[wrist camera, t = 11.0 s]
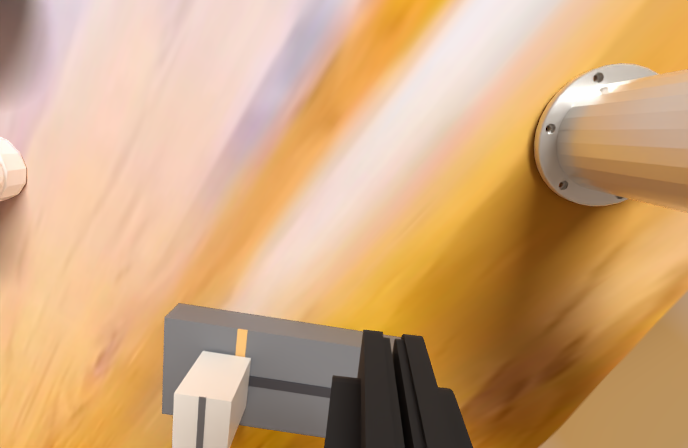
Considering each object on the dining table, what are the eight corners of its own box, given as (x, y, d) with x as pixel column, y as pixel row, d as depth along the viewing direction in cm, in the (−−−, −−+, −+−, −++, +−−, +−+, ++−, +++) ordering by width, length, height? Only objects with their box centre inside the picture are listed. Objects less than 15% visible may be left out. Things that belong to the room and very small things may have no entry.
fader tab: (251, 357, 36) (231, 402, 30) (246, 406, 37) (226, 457, 32) (203, 350, 36) (173, 393, 30) (199, 399, 37) (171, 449, 31)
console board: (411, 339, 39) (416, 356, 36) (391, 426, 42) (394, 448, 39) (179, 303, 38) (164, 318, 35) (175, 393, 41) (161, 414, 38)
